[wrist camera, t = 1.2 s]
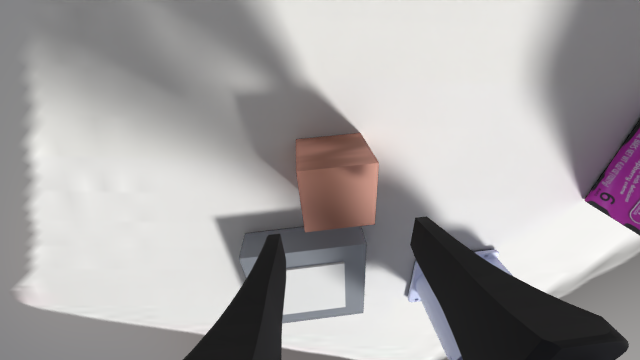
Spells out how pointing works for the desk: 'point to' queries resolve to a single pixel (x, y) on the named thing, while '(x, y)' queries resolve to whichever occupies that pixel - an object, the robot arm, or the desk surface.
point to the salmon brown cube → (336, 181)
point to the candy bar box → (621, 185)
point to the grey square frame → (316, 270)
